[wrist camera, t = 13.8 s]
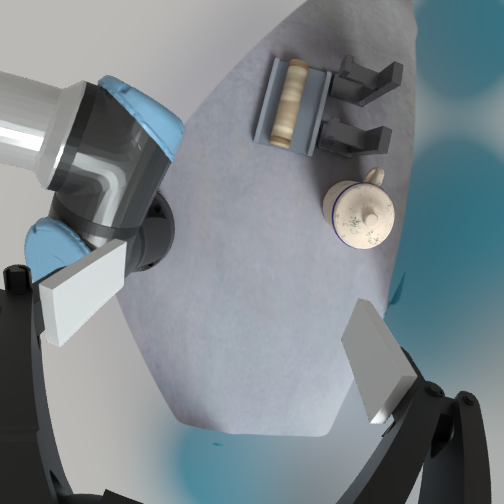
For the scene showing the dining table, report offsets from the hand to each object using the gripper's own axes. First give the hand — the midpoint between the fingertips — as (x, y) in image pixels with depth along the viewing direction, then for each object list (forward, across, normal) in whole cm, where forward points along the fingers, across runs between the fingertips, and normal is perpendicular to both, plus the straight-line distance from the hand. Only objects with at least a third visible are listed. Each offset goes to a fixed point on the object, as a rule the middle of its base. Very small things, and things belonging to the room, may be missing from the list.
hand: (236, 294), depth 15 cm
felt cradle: (+32, +2, +17) cm, 36 cm away
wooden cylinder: (+31, +1, +17) cm, 35 cm away
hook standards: (+32, +9, +18) cm, 38 cm away
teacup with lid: (+32, +14, +5) cm, 35 cm away
